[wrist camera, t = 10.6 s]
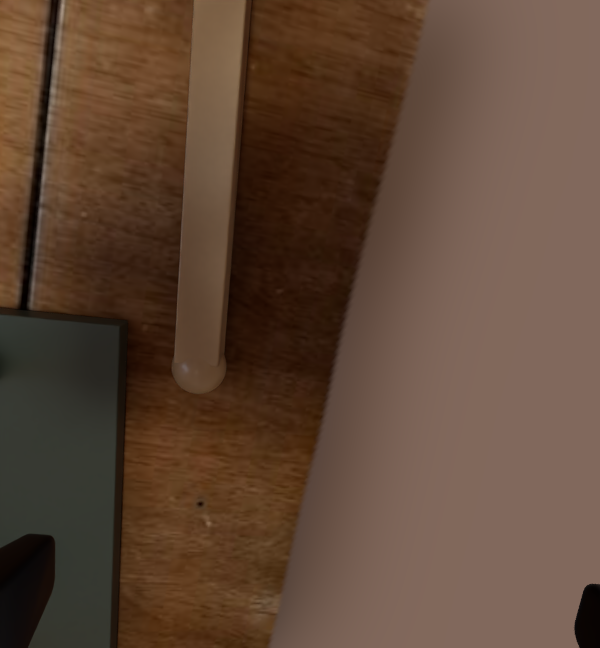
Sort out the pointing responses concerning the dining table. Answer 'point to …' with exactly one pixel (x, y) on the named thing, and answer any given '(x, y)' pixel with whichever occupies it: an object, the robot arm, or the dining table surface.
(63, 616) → the rack
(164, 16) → the dining table surface
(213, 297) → the beige rounded rod
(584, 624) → the robot arm
